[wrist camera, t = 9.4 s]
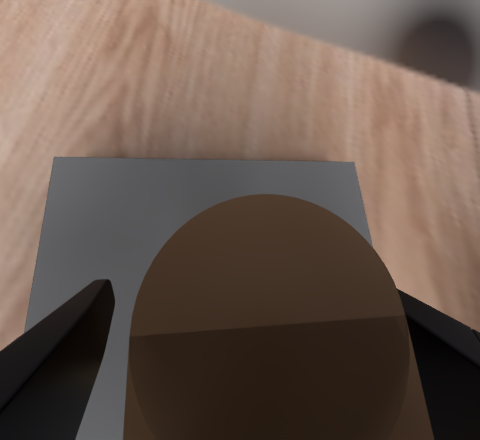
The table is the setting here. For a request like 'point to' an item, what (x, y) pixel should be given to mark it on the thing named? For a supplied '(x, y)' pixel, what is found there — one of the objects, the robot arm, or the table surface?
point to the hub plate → (150, 237)
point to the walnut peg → (271, 332)
